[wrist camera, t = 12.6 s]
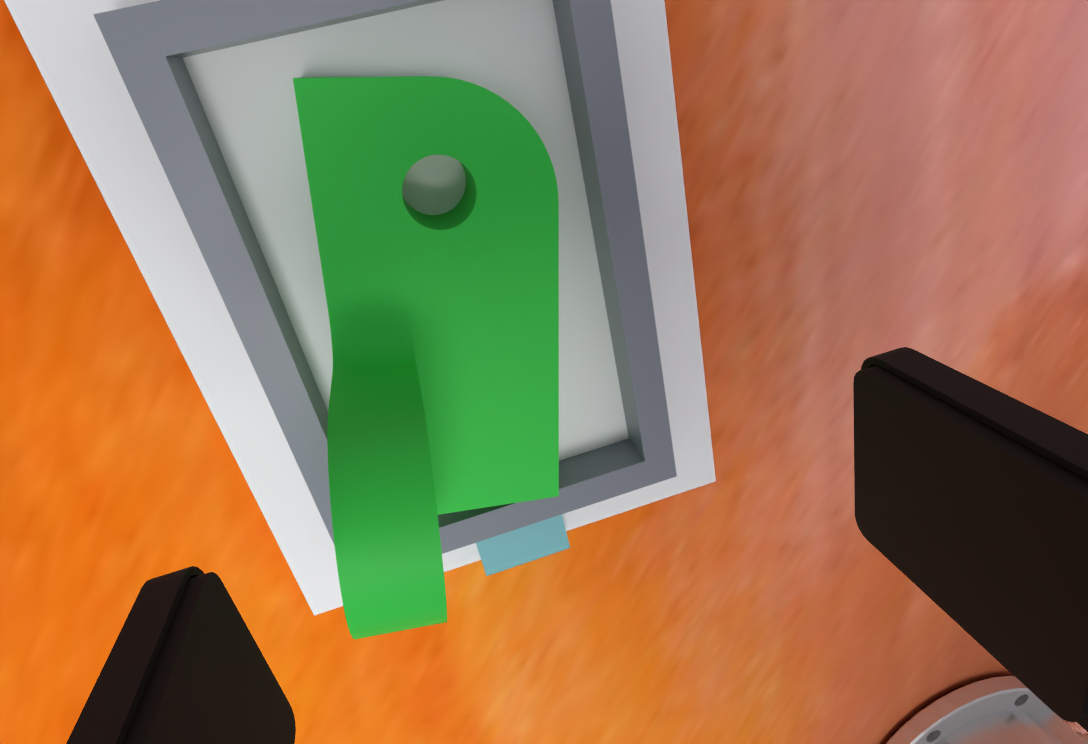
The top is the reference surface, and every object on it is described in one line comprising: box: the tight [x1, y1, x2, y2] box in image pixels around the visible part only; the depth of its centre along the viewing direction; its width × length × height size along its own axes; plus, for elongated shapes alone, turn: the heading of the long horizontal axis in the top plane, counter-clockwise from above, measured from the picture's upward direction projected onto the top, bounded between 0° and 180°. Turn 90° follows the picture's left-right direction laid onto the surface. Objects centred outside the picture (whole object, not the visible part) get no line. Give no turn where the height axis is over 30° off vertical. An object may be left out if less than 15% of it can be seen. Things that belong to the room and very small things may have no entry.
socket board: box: [4, 0, 716, 615], centre depth 19 cm, size 15×20×3 cm
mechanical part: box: [293, 76, 559, 639], centre depth 16 cm, size 12×6×8 cm, turn 0°
